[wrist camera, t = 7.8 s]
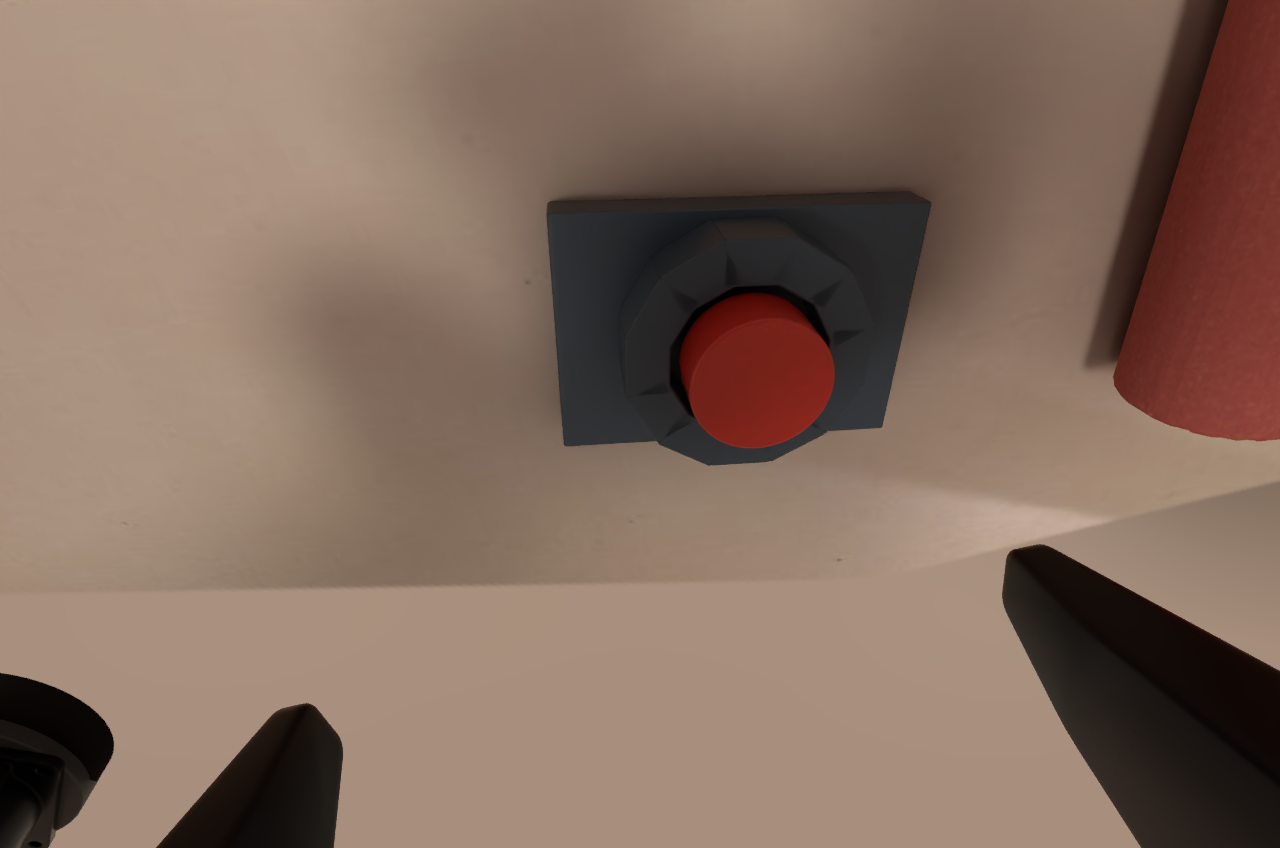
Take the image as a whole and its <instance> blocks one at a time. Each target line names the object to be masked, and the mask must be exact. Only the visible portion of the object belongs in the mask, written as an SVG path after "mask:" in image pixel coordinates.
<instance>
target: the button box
mask: <svg viewBox="0 0 1280 848" xmlns="http://www.w3.org/2000/svg"><path fill="white" fill-rule="evenodd" d="M930 207H931V202H930V201H928V200H926V199H924V198H922V197H920V196H919V195H917V194H915V193H913V192H880V193H845V194H810V195H775V196H740V197H705V198H669V199H634V200H599V201H564V202H549V203H548V204H547V228H548V241H549V254H550V268H551V281H552V294H553V307H554V321H555V334H556V347H557V360H558V374H559V387H560V400H561V414H562V427H563V440H564V445H565V446H580V445H597V444H614V443H631V442H648V441H657V442H658V444H660V445H662V446H664V447H667V448H669V449H671V450H674V451H676V452H678V453H681V454H683V455H685V456H688V457H690V458H692V459H695V460H697V461H699V462H702V463H704V464H706V465H709V466H710V465H727V464H743V463H759V462H768V461H769V460H770V461H773V460H775V459H777V458H779V457H781V456H783V455H785V454H787V453H788V452H790V451H792V450H794V449H796V448H798V447H800V446H802V445H804V444H806V443H808V442H810V441H812V440H814V439H816V438H818V437H820V436H821V435H823V434H824V433H826V432H827V431H836V430H853V429H870V428H881V427H882V425H883V420H884V416H885V411H886V407H887V402H888V398H889V393H890V388H891V384H892V379H893V375H894V370H895V366H896V361H897V357H898V352H899V348H900V343H901V339H902V334H903V330H904V325H905V321H906V316H907V311H908V307H909V302H910V298H911V293H912V289H913V284H914V280H915V275H916V271H917V266H918V262H919V257H920V253H921V248H922V243H923V239H924V234H925V230H926V225H927V221H928V216H929V212H930ZM752 292H756V293H768V294H772V295H776V296H779V297H781V298H784V299H786V300H788V301H789V302H791V303H792V304H794V305H795V306H796V307H797V308H798V309H799V310H800V311H801V312H802V313H803V314H804V316H805V317H806V318H807V319H808V321H809V322H810V323H811V325H812V326H813V327H814V328H815V330H816V331H817V332H818V334H819V335H820V336H821V337H822V339H823V340H824V341H825V343H826V344H827V346H828V348H829V349H830V352H831V354H832V357H833V361H834V367H835V378H834V385H833V390H832V393H831V396H830V398H829V401H828V403H827V404H826V406H825V408H824V410H823V411H822V412H821V414H820V415H819V416H818V418H817V419H816V420H815V421H814V422H813V423H812V424H811V425H810V426H809V427H808V428H806V429H805V430H804V431H802V432H801V433H800V434H798V435H796V436H795V437H793V438H791V439H789V440H787V441H785V442H782V443H779V444H776V445H773V446H769V447H763V448H740V447H735V446H731V445H728V444H725V443H723V442H721V441H719V440H717V439H715V438H714V437H712V436H711V435H709V434H708V433H707V432H706V431H705V430H704V429H703V428H702V427H701V426H700V424H699V423H698V422H697V420H696V418H695V416H694V414H693V412H692V409H691V406H690V403H689V400H688V397H687V393H686V390H685V387H684V384H683V381H682V378H681V374H680V368H679V358H680V351H681V347H682V343H683V341H684V338H685V336H686V334H687V332H688V330H689V329H690V327H691V326H692V325H693V323H694V322H695V321H696V319H697V318H698V317H699V316H700V315H701V314H702V313H703V312H705V311H706V310H707V309H708V308H710V307H711V306H713V305H714V304H716V303H717V302H719V301H721V300H723V299H726V298H728V297H731V296H734V295H738V294H743V293H752Z"/></svg>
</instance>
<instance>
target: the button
mask: <svg viewBox="0 0 1280 848" xmlns="http://www.w3.org/2000/svg"><path fill="white" fill-rule="evenodd" d="M679 368H680V374H681V378H682V381H683V384H684V387H685V390H686V393H687V397H688V400H689V403H690V406H691V409H692V412H693V414H694V416H695V418H696V420H697V422H698V423H699V424H700V426H701V427H702V428H703V429H704V430H705V431H706V432H707V433H708V434H709V435H711V436H712V437H714V438H715V439H717V440H719V441H721V442H723V443H725V444H728V445H731V446H735V447H740V448H763V447H769V446H773V445H776V444H779V443H782V442H785V441H787V440H789V439H791V438H793V437H795V436H796V435H798V434H800V433H801V432H802V431H804V430H805V429H806V428H808V427H809V426H810V425H811V424H812V423H813V422H814V421H815V420H816V419H817V418H818V416H819V415H820V414H821V412H822V411H823V410H824V408H825V406H826V404H827V403H828V401H829V398H830V396H831V393H832V390H833V385H834V378H835V367H834V361H833V357H832V354H831V352H830V349H829V348H828V346H827V344H826V343H825V341H824V340H823V339H822V337H821V336H820V335H819V334H818V332H817V331H816V330H815V328H814V327H813V326H812V325H811V323H810V322H809V321H808V319H807V318H806V317H805V316H804V314H803V313H802V312H801V311H800V310H799V309H798V308H797V307H796V306H795V305H794V304H792V303H791V302H789V301H788V300H786V299H784V298H781V297H779V296H776V295H772V294H768V293H756V292H752V293H743V294H738V295H734V296H731V297H728V298H726V299H723V300H721V301H719V302H717V303H716V304H714V305H713V306H711V307H710V308H708V309H707V310H706V311H705V312H703V313H702V314H701V315H700V316H699V317H698V318H697V319H696V321H695V322H694V323H693V325H692V326H691V327H690V329H689V330H688V332H687V334H686V336H685V338H684V341H683V343H682V347H681V351H680V358H679Z"/></svg>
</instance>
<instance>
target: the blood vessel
mask: <svg viewBox="0 0 1280 848" xmlns="http://www.w3.org/2000/svg"><path fill="white" fill-rule="evenodd" d="M1113 378H1114V386H1115V387H1116V389H1117V390H1118V392H1119V393H1120V395H1121V396H1122V397H1123V398H1124V399H1125V400H1126V401H1127V402H1128V403H1129V404H1131V405H1133V406H1134V407H1136V408H1138V409H1139V410H1141V411H1142V412H1144V413H1146V414H1147V415H1149V416H1150V417H1152V418H1154V419H1156V420H1158V421H1161V422H1163V423H1165V424H1167V425H1170V426H1174V427H1178V428H1182V429H1186V430H1189V431H1190V432H1192V433H1196V434H1200V435H1205V436H1209V437H1221V438H1227V439H1232V440H1255V441H1266V440H1277V439H1280V0H1229V1H1228V4H1227V7H1226V11H1225V14H1224V17H1223V20H1222V24H1221V27H1220V30H1219V33H1218V37H1217V40H1216V43H1215V46H1214V50H1213V53H1212V56H1211V60H1210V63H1209V66H1208V69H1207V73H1206V76H1205V79H1204V82H1203V86H1202V89H1201V92H1200V95H1199V99H1198V102H1197V105H1196V108H1195V112H1194V115H1193V118H1192V121H1191V125H1190V128H1189V131H1188V134H1187V138H1186V141H1185V144H1184V147H1183V151H1182V154H1181V157H1180V160H1179V164H1178V167H1177V170H1176V173H1175V177H1174V180H1173V183H1172V187H1171V190H1170V193H1169V196H1168V200H1167V203H1166V206H1165V209H1164V213H1163V216H1162V219H1161V222H1160V226H1159V229H1158V232H1157V235H1156V239H1155V242H1154V245H1153V248H1152V252H1151V255H1150V258H1149V261H1148V265H1147V268H1146V271H1145V274H1144V278H1143V281H1142V284H1141V287H1140V291H1139V294H1138V297H1137V300H1136V304H1135V307H1134V310H1133V314H1132V317H1131V320H1130V323H1129V327H1128V330H1127V333H1126V336H1125V340H1124V343H1123V346H1122V349H1121V353H1120V356H1119V359H1118V362H1117V366H1116V369H1115V372H1114V376H1113Z"/></svg>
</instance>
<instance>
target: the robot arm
mask: <svg viewBox="0 0 1280 848" xmlns="http://www.w3.org/2000/svg"><path fill="white" fill-rule="evenodd" d="M1002 598H1003V604H1004V608H1005V610H1006V613H1007V615H1008V617H1009V619H1010V621H1011V623H1012V625H1013V627H1014V629H1015V631H1016V633H1017V635H1018V637H1019V639H1020V641H1021V643H1022V645H1023V647H1024V649H1025V651H1026V653H1027V654H1028V657H1029V659H1030V660H1031V663H1032V665H1033V667H1034V669H1035V670H1036V672H1037V674H1038V676H1039V678H1040V680H1041V682H1042V684H1043V686H1044V688H1045V690H1046V692H1047V694H1048V696H1049V698H1050V700H1051V702H1052V704H1053V706H1054V708H1055V710H1056V712H1057V714H1058V716H1059V717H1060V719H1061V721H1062V723H1063V725H1064V727H1065V729H1066V730H1067V732H1068V734H1069V735H1070V737H1071V739H1072V740H1073V742H1074V744H1075V745H1076V747H1077V748H1078V750H1079V752H1080V753H1081V755H1082V756H1083V758H1084V759H1085V761H1086V762H1087V764H1088V766H1089V767H1090V769H1091V770H1092V772H1093V773H1094V775H1095V776H1096V778H1097V780H1098V781H1099V783H1100V784H1101V786H1102V787H1103V789H1104V790H1105V792H1106V794H1107V795H1108V797H1109V798H1110V800H1111V801H1112V803H1113V804H1114V806H1115V808H1116V809H1117V811H1118V812H1119V814H1120V815H1121V817H1122V818H1123V820H1124V822H1125V823H1126V825H1127V826H1128V828H1129V829H1130V831H1131V832H1132V834H1133V835H1134V837H1135V839H1136V840H1137V842H1138V843H1139V845H1140V846H1141V848H1280V671H1279V670H1277V669H1275V668H1273V667H1271V666H1270V665H1268V664H1266V663H1264V662H1262V661H1260V660H1259V659H1257V658H1255V657H1253V656H1251V655H1249V654H1247V653H1246V652H1244V651H1242V650H1240V649H1238V648H1236V647H1234V646H1233V645H1231V644H1229V643H1227V642H1225V641H1223V640H1221V639H1220V638H1218V637H1216V636H1214V635H1212V634H1210V633H1209V632H1207V631H1205V630H1203V629H1201V628H1199V627H1198V626H1195V625H1194V624H1192V623H1190V622H1188V621H1186V620H1185V619H1183V618H1181V617H1179V616H1177V615H1175V614H1173V613H1172V612H1170V611H1168V610H1166V609H1164V608H1162V607H1161V606H1159V605H1157V604H1155V603H1153V602H1151V601H1149V600H1148V599H1146V598H1144V597H1142V596H1140V595H1138V594H1136V593H1135V592H1133V591H1131V590H1129V589H1127V588H1125V587H1123V586H1122V585H1120V584H1118V583H1116V582H1114V581H1112V580H1111V579H1109V578H1107V577H1105V576H1103V575H1101V574H1099V573H1098V572H1096V571H1094V570H1092V569H1090V568H1088V567H1087V566H1085V565H1083V564H1081V563H1079V562H1077V561H1076V560H1074V559H1072V558H1070V557H1068V556H1066V555H1064V554H1062V553H1061V552H1059V551H1057V550H1055V549H1053V548H1051V547H1049V546H1046V545H1041V544H1039V545H1033V546H1028V547H1023V548H1019V549H1014V550H1012V551H1010V552H1009V554H1008V555H1007V558H1006V566H1005V574H1004V583H1003V592H1002ZM342 761H343V747H342V742H341V740H340V737H339V736H338V734H337V733H336V732H335V731H334V729H333V728H332V727H331V725H330V724H329V723H328V722H327V720H326V719H325V718H324V717H323V716H322V714H321V713H320V712H319V711H318V709H317V708H316V707H315V706H313V705H311V704H309V703H306V704H300V705H295V706H291V707H287V708H283V709H280V710H278V711H276V712H275V713H274V714H273V715H272V716H271V717H270V718H269V719H268V720H267V721H266V723H265V724H264V725H263V726H262V727H261V728H260V729H259V730H258V732H257V733H256V734H255V735H254V736H253V737H252V738H251V740H250V741H249V742H248V743H247V744H246V745H245V747H244V748H243V749H242V750H241V751H240V752H239V754H238V755H237V756H236V757H235V758H234V759H233V760H232V761H231V763H230V764H229V765H228V766H227V767H226V768H225V769H224V771H223V772H222V773H221V774H220V775H219V776H218V778H217V779H216V780H215V781H214V782H213V783H212V784H211V786H210V787H209V788H208V789H207V790H206V792H204V793H203V795H202V796H201V797H200V798H199V799H198V800H197V802H196V803H195V804H194V805H193V806H192V807H191V808H190V810H189V811H188V812H187V813H186V814H185V815H184V816H183V818H182V819H181V820H180V821H179V822H178V823H177V825H176V826H175V827H174V828H173V829H172V830H171V831H170V832H169V834H168V835H167V836H166V837H165V838H164V839H163V840H162V842H161V843H160V844H159V845H158V846H157V847H156V848H334V839H335V829H336V820H337V810H338V800H339V790H340V781H341V770H342ZM64 769H65V761H64V760H63V759H61V758H59V757H57V756H54V755H49V754H43V753H36V752H30V751H23V750H17V749H10V748H4V747H0V848H48V847H49V845H50V843H51V842H52V840H53V839H54V837H55V832H56V825H57V818H58V811H59V804H60V797H61V790H62V783H63V776H64Z"/></svg>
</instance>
